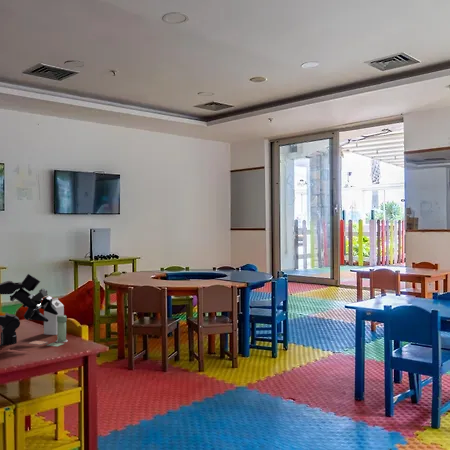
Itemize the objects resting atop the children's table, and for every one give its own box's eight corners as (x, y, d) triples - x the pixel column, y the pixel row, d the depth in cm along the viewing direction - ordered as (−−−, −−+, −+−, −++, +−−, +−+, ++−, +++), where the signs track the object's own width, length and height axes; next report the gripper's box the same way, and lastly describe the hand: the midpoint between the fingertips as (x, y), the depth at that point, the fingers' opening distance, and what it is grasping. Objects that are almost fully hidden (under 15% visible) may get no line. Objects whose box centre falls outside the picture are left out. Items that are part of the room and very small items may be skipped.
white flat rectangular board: (25, 346, 230) (25, 343, 230) (45, 339, 243) (45, 337, 243) (56, 349, 224) (56, 347, 224) (75, 342, 237) (75, 340, 237)
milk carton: (43, 336, 250) (43, 299, 250) (51, 333, 257) (51, 297, 257) (56, 337, 248) (56, 299, 248) (63, 334, 255) (64, 297, 255)
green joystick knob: (54, 341, 234) (55, 316, 234) (60, 339, 238) (61, 315, 238) (62, 342, 233) (62, 317, 233) (68, 340, 237) (68, 315, 237)
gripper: (23, 291, 223) (51, 311, 222) (44, 280, 241) (69, 298, 241) (12, 310, 225) (39, 329, 225) (33, 297, 243) (59, 315, 243)
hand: (52, 317), depth 233 cm, fingers open, 9 cm apart
